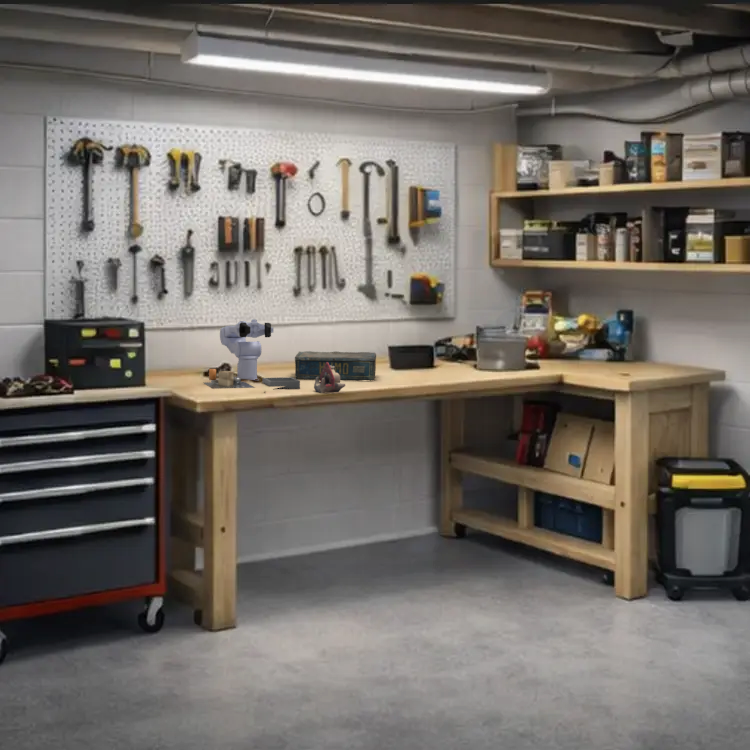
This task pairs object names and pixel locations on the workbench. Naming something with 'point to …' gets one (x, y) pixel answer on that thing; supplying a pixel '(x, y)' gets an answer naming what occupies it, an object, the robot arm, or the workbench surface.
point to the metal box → (336, 365)
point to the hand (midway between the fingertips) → (259, 330)
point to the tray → (282, 382)
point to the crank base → (235, 385)
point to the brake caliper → (328, 381)
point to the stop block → (225, 378)
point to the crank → (213, 379)
